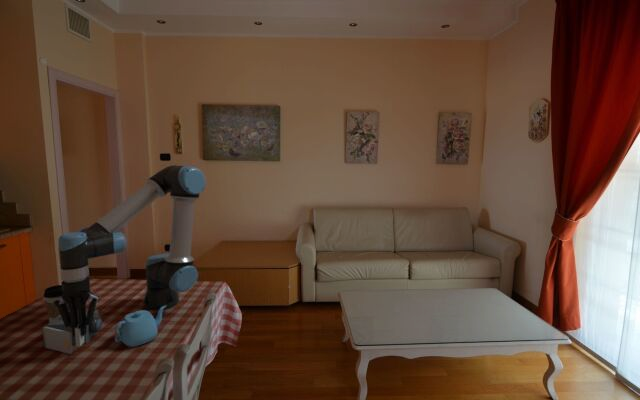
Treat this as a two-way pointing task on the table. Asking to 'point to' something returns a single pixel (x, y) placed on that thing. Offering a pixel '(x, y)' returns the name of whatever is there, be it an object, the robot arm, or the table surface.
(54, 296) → the coffee cup
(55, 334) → the side door
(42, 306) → the table surface
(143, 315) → the teapot
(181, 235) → the robot arm
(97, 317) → the camera case
